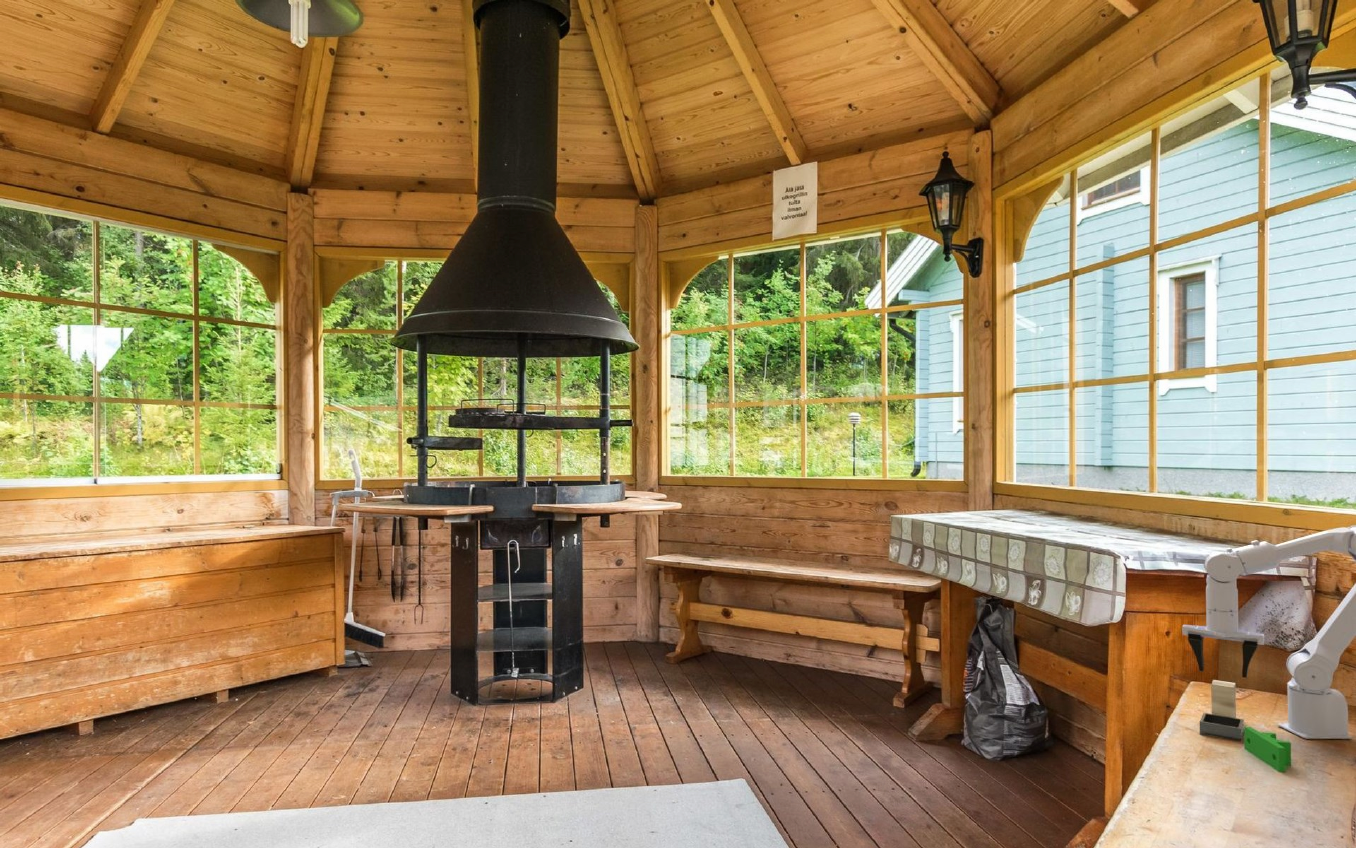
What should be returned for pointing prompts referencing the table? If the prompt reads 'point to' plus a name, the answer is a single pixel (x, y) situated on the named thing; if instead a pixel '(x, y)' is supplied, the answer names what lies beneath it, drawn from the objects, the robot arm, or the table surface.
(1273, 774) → the table surface
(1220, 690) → the rail post
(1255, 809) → the table surface
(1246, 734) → the pipe clamp
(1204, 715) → the dark gray open tray
